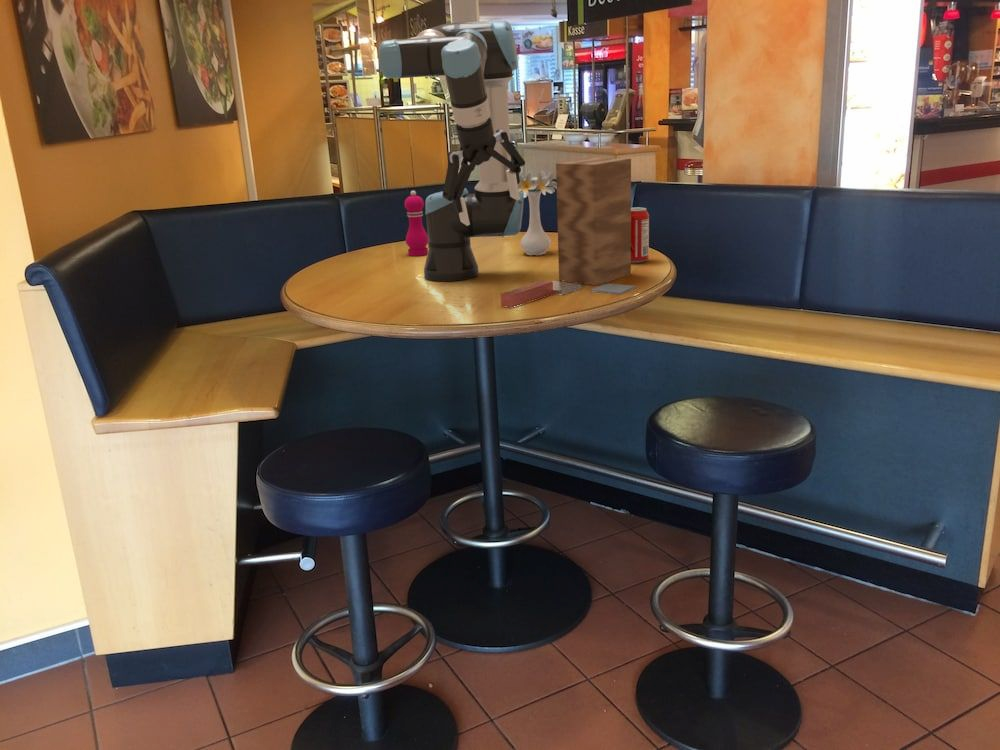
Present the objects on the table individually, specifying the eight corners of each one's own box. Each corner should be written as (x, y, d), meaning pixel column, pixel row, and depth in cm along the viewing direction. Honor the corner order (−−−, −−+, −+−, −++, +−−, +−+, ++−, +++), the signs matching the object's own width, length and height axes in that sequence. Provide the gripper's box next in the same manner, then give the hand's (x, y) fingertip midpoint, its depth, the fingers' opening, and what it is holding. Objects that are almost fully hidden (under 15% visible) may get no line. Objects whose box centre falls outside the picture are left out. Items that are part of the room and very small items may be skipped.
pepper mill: (428, 255, 261) (423, 191, 254) (405, 256, 261) (399, 192, 255) (430, 251, 268) (425, 188, 261) (408, 252, 268) (403, 189, 262)
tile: (591, 293, 206) (590, 289, 206) (607, 286, 212) (607, 283, 211) (619, 296, 201) (619, 292, 201) (635, 289, 207) (635, 286, 207)
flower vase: (570, 255, 250) (568, 170, 242) (509, 259, 249) (505, 174, 241) (565, 247, 262) (563, 166, 254) (507, 251, 262) (503, 170, 254)
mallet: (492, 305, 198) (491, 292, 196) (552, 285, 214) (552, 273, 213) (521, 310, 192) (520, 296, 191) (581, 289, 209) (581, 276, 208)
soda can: (648, 264, 233) (648, 210, 228) (619, 264, 234) (619, 211, 230) (648, 258, 240) (649, 206, 235) (621, 259, 242) (621, 207, 237)
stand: (559, 280, 219) (556, 163, 209) (593, 269, 230) (592, 157, 220) (596, 285, 211) (595, 164, 201) (630, 273, 222) (631, 158, 213)
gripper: (431, 148, 163) (452, 240, 177) (532, 102, 172) (545, 193, 186) (412, 138, 168) (434, 227, 182) (511, 93, 177) (525, 182, 191)
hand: (490, 210), depth 184 cm, fingers open, 13 cm apart
